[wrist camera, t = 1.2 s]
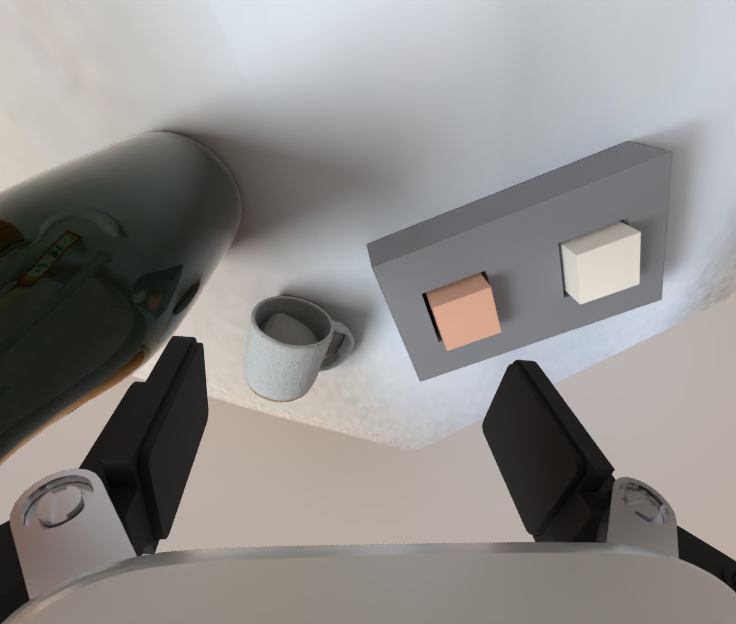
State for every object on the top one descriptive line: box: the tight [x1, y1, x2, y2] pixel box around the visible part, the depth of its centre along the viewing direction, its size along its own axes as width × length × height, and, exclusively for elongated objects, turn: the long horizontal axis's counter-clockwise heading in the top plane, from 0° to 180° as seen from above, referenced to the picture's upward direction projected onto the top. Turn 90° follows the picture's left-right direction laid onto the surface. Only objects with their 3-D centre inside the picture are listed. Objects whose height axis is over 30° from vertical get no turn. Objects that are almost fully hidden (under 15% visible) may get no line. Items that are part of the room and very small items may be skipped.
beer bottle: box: [0, 132, 242, 466], centre depth 18 cm, size 10×10×33 cm
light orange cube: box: [425, 273, 501, 351], centre depth 35 cm, size 5×5×5 cm
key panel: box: [367, 141, 672, 382], centre depth 36 cm, size 24×14×5 cm, turn 111°
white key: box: [558, 221, 641, 305], centre depth 33 cm, size 5×5×5 cm
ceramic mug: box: [244, 296, 354, 402], centre depth 37 cm, size 11×8×8 cm
